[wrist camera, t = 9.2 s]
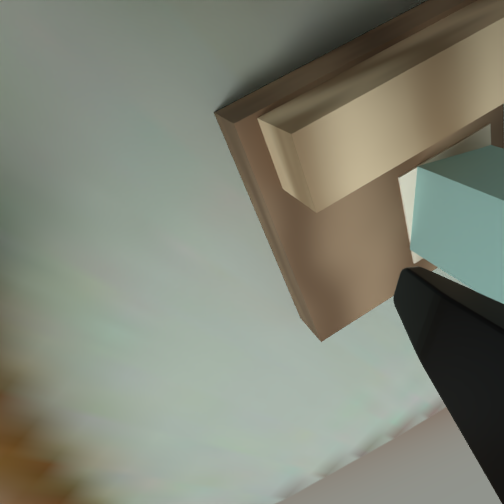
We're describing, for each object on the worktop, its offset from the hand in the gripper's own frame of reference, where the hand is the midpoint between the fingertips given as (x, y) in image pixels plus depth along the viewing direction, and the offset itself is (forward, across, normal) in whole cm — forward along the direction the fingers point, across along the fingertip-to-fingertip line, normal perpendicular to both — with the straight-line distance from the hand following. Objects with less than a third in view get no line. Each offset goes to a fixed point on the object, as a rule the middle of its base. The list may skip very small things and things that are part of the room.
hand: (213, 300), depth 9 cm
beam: (+11, -9, -2) cm, 15 cm away
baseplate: (+14, -11, +3) cm, 18 cm away
